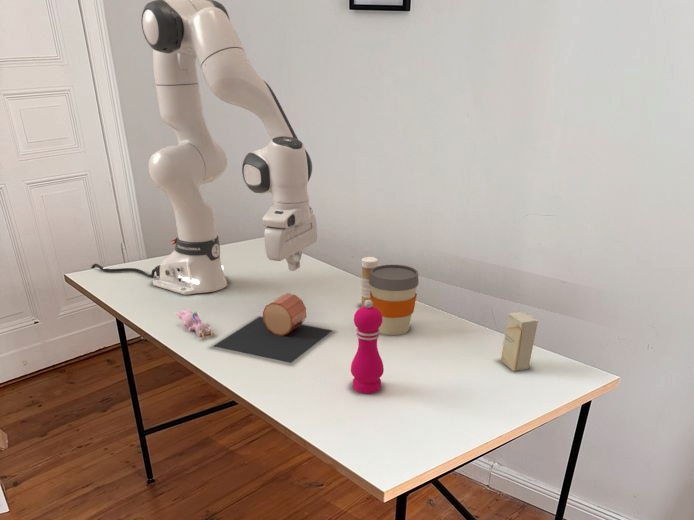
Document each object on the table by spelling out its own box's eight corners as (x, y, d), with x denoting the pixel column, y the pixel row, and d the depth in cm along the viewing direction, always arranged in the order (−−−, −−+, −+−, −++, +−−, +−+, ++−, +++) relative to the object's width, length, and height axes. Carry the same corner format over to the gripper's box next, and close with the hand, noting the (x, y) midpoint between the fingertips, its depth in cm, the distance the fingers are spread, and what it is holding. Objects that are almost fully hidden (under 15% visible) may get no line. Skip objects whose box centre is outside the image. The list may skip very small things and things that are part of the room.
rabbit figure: (219, 340, 176) (190, 314, 184) (218, 319, 172) (189, 294, 180) (197, 346, 172) (168, 320, 180) (196, 325, 168) (167, 299, 176)
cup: (263, 332, 176) (261, 300, 171) (278, 322, 182) (276, 291, 177) (292, 338, 173) (291, 305, 168) (306, 328, 179) (305, 296, 174)
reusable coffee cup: (372, 339, 174) (373, 281, 166) (364, 320, 184) (365, 265, 176) (420, 336, 176) (424, 279, 167) (410, 318, 186) (413, 263, 178)
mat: (213, 347, 169) (212, 346, 168) (259, 317, 185) (259, 316, 185) (290, 364, 161) (290, 362, 161) (332, 331, 178) (332, 330, 178)
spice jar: (369, 302, 196) (370, 255, 188) (380, 307, 193) (381, 259, 185) (357, 306, 193) (358, 258, 186) (367, 310, 191) (368, 262, 183)
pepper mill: (385, 382, 154) (389, 295, 143) (379, 396, 148) (382, 307, 137) (354, 378, 155) (355, 292, 144) (347, 392, 150) (347, 304, 138)
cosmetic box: (500, 361, 164) (506, 312, 157) (515, 358, 165) (523, 310, 159) (514, 372, 159) (521, 322, 152) (530, 369, 161) (538, 319, 154)
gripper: (300, 202, 174) (303, 256, 182) (258, 220, 159) (262, 279, 167) (322, 204, 172) (324, 259, 180) (281, 223, 157) (285, 282, 165)
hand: (294, 269), depth 173 cm, fingers closed
